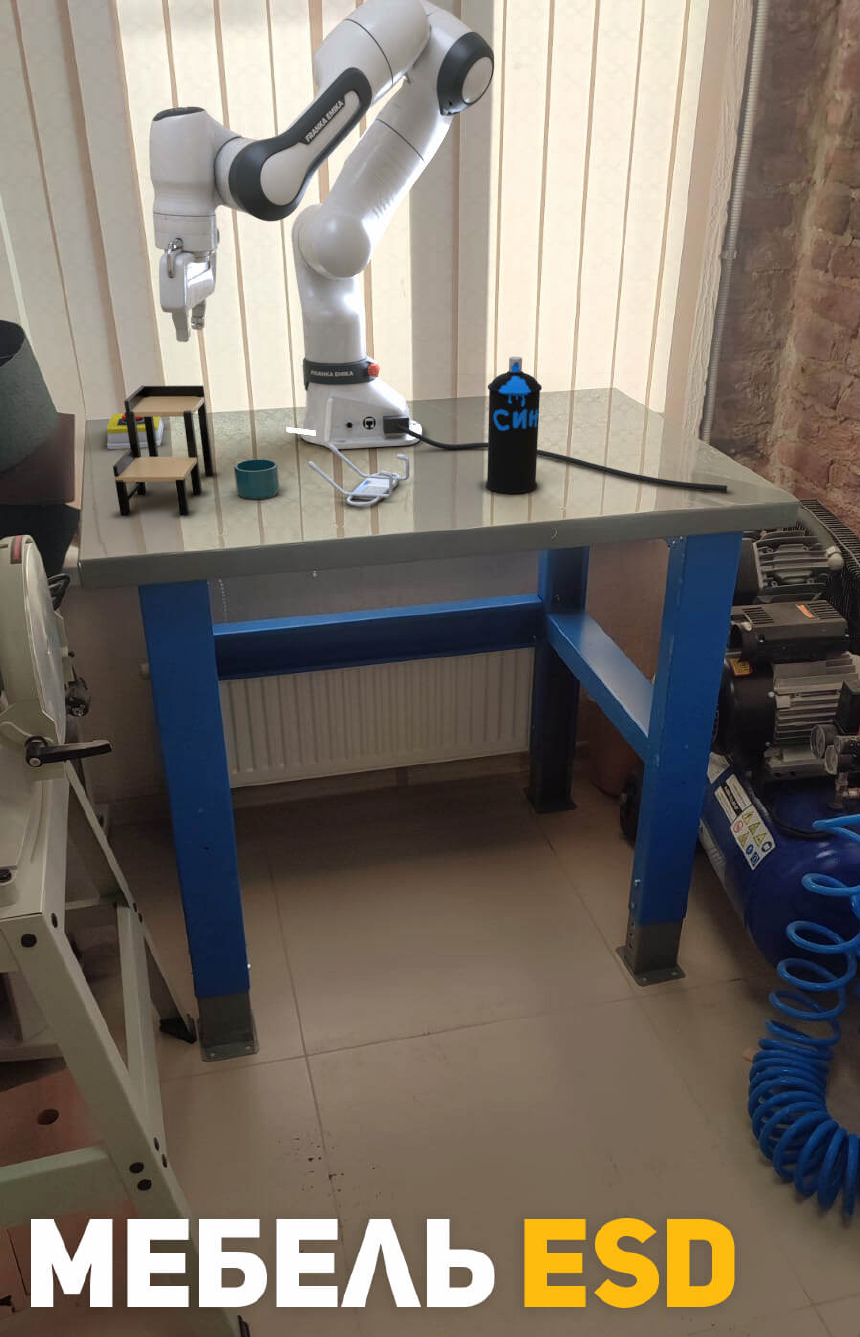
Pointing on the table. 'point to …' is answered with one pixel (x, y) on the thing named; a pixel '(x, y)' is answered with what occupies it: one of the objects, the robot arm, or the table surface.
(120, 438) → the emergency button
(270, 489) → the cup
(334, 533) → the table surface
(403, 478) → the wall mount rack
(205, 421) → the rack
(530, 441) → the aerosol can
